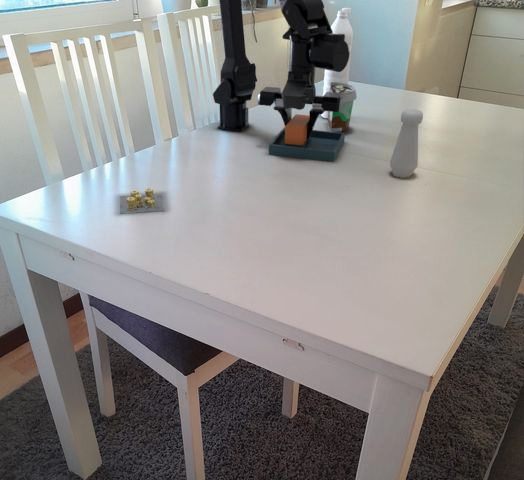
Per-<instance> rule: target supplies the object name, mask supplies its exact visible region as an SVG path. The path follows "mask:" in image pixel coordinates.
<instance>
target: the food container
mask: <svg viewBox="0 0 524 480" xmlns="http://www.w3.org/2000/svg"><path fill="white" fill-rule="evenodd" d="M330 92H335V93H342V95H343V98H344V99H343V106H342V108H341V109H340V111H339V112H330V111H329V112H328V119H327V127H328V131H329V132H338V133H345V134H347V133H348V131H349V128H350V122H351V117H352V110H353V106H354V101H355V100H357V98H358V97H357V91H356V86H354V85H352V84H349V83H348V84H344V83H337V82H331V85H330Z"/></svg>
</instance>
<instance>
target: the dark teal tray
mask: <svg viewBox="0 0 524 480" xmlns="http://www.w3.org/2000/svg"><path fill="white" fill-rule="evenodd" d="M345 139H346V133H338V132H329V130H327V131H326V130H317V129H313V130H312V137H311V138H310V140H309V141H308V143H307V144H306V145H305V147H304V148H302V147H292V146H285V126H284V127H283V128H282V129H281V130H280V131H279V132H278V134H277V135H276V136H275V137H274V138H273V139H272V140H271V142H270V143H269V144H268V155H269V156H271V155H272V156H279V157H280V156H281V157H290V158H298V159H307V160H314V161H323V162H333V163H334V162H335V160H336V158H337V156H338V154H339V152H340V151H341V149H342V148H343V145H344V144H345Z"/></svg>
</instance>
